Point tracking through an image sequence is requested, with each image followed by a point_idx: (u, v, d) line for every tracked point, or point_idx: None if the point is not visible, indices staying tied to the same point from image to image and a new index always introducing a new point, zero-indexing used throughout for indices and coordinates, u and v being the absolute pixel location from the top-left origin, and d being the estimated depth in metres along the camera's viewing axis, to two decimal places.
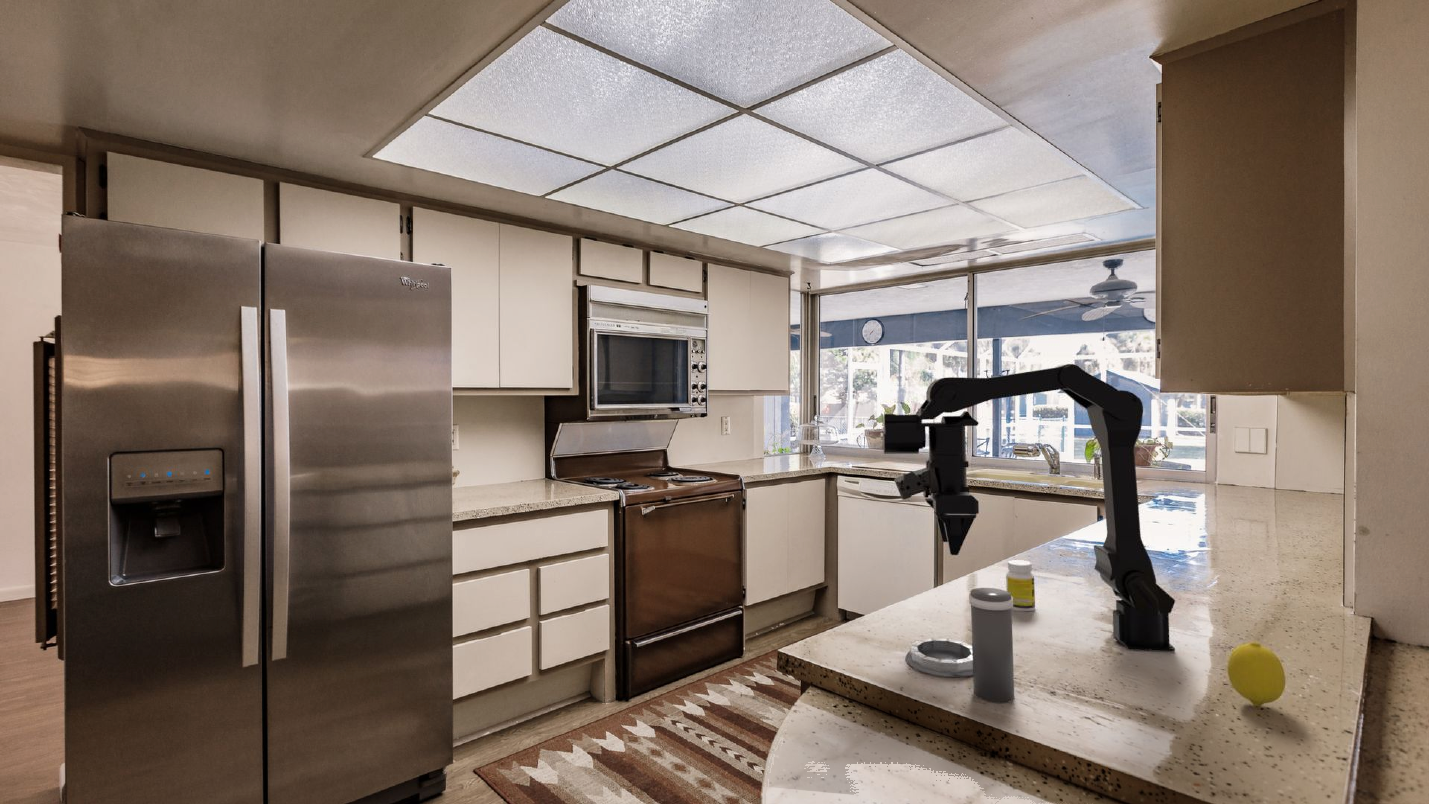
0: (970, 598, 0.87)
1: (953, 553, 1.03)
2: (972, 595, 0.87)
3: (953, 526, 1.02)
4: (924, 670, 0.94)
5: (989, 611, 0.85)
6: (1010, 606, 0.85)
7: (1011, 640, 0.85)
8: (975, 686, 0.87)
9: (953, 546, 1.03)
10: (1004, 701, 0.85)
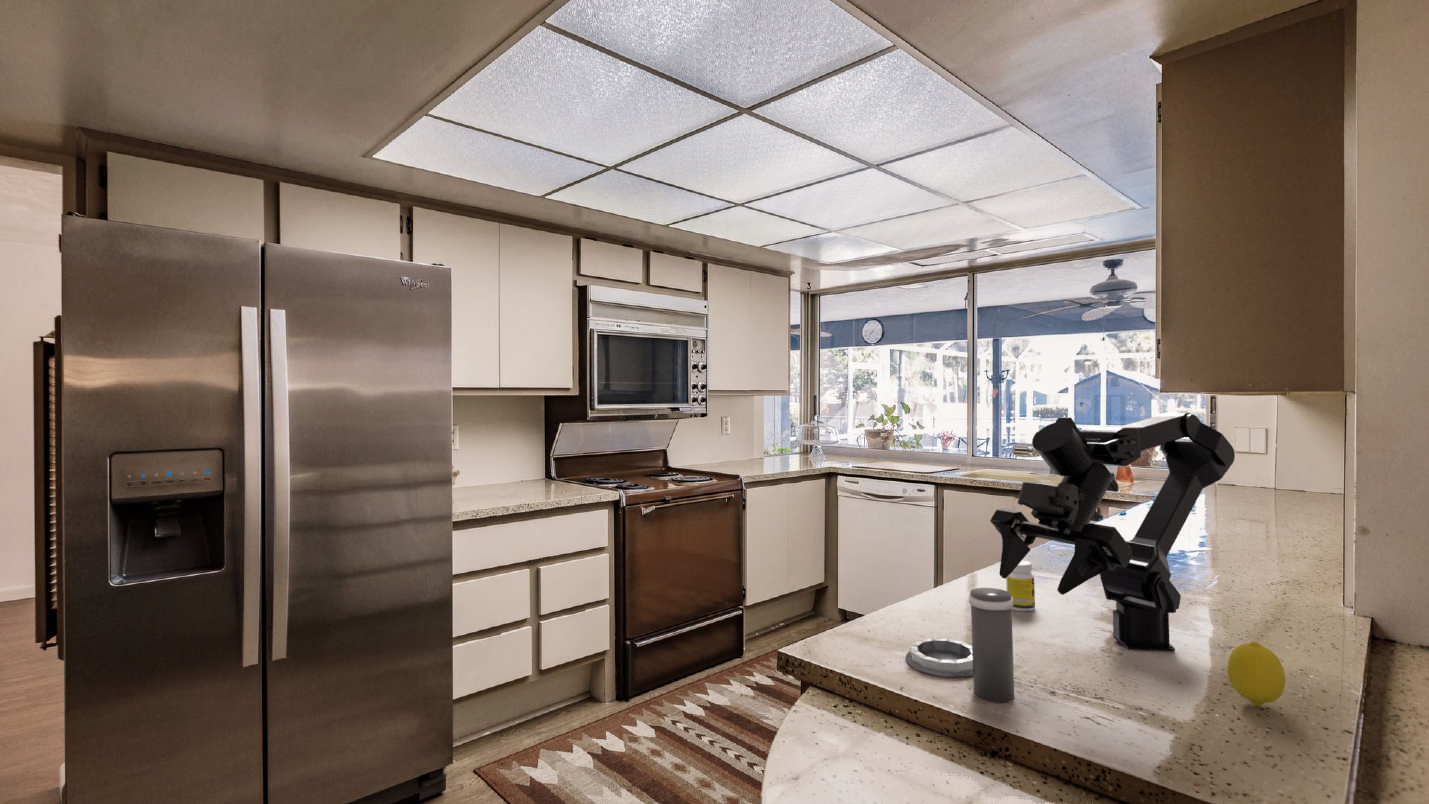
0: (970, 598, 0.87)
1: (1062, 590, 0.87)
2: (972, 595, 0.87)
3: (1082, 565, 0.87)
4: (924, 670, 0.94)
5: (989, 611, 0.85)
6: (1010, 606, 0.85)
7: (1011, 640, 0.85)
8: (975, 686, 0.87)
9: (1068, 583, 0.87)
10: (1004, 701, 0.85)
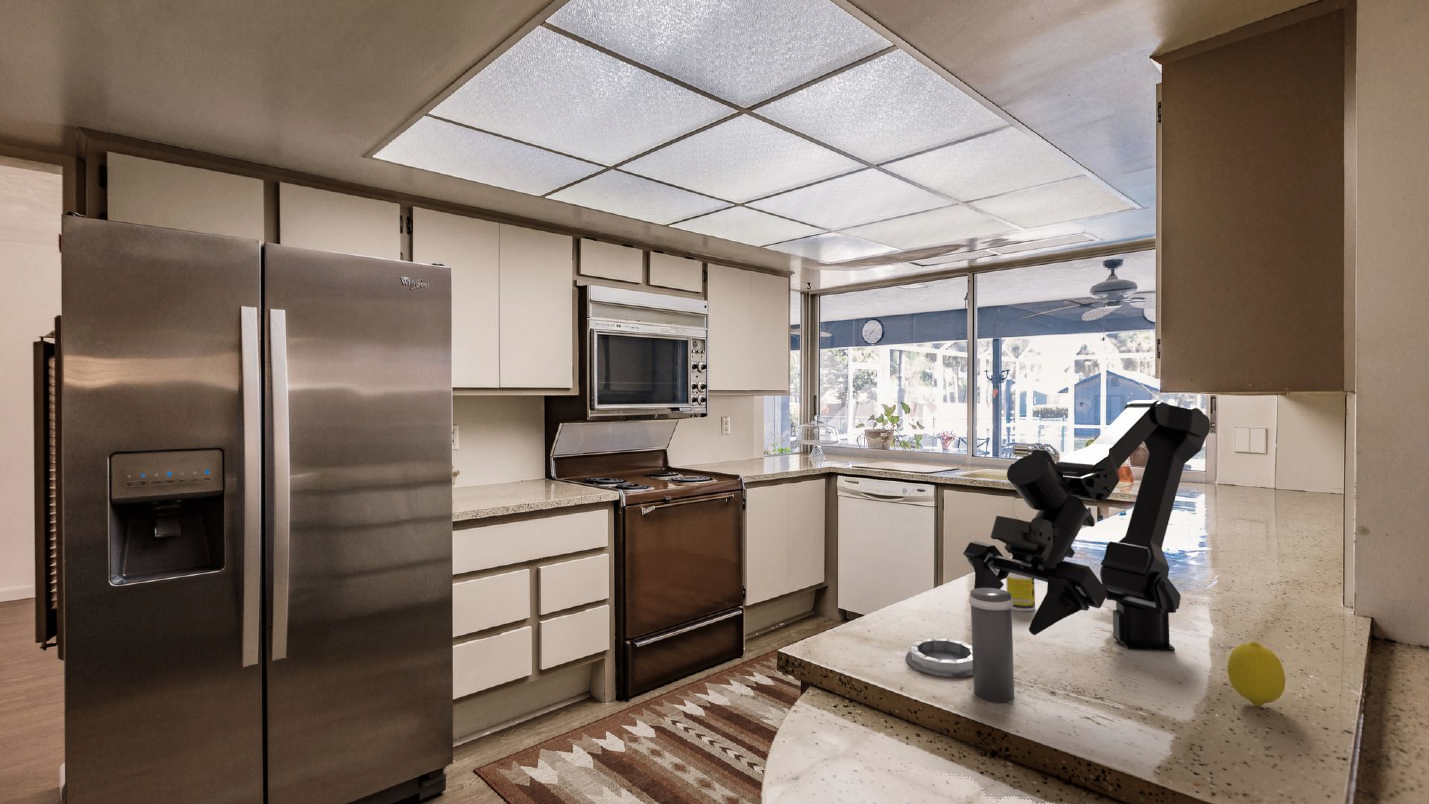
0: (970, 598, 0.87)
1: (1033, 631, 0.84)
2: (972, 595, 0.87)
3: (1055, 604, 0.84)
4: (924, 670, 0.94)
5: (989, 611, 0.85)
6: (1010, 606, 0.85)
7: (1011, 640, 0.85)
8: (975, 686, 0.87)
9: (1040, 623, 0.84)
10: (1004, 701, 0.85)
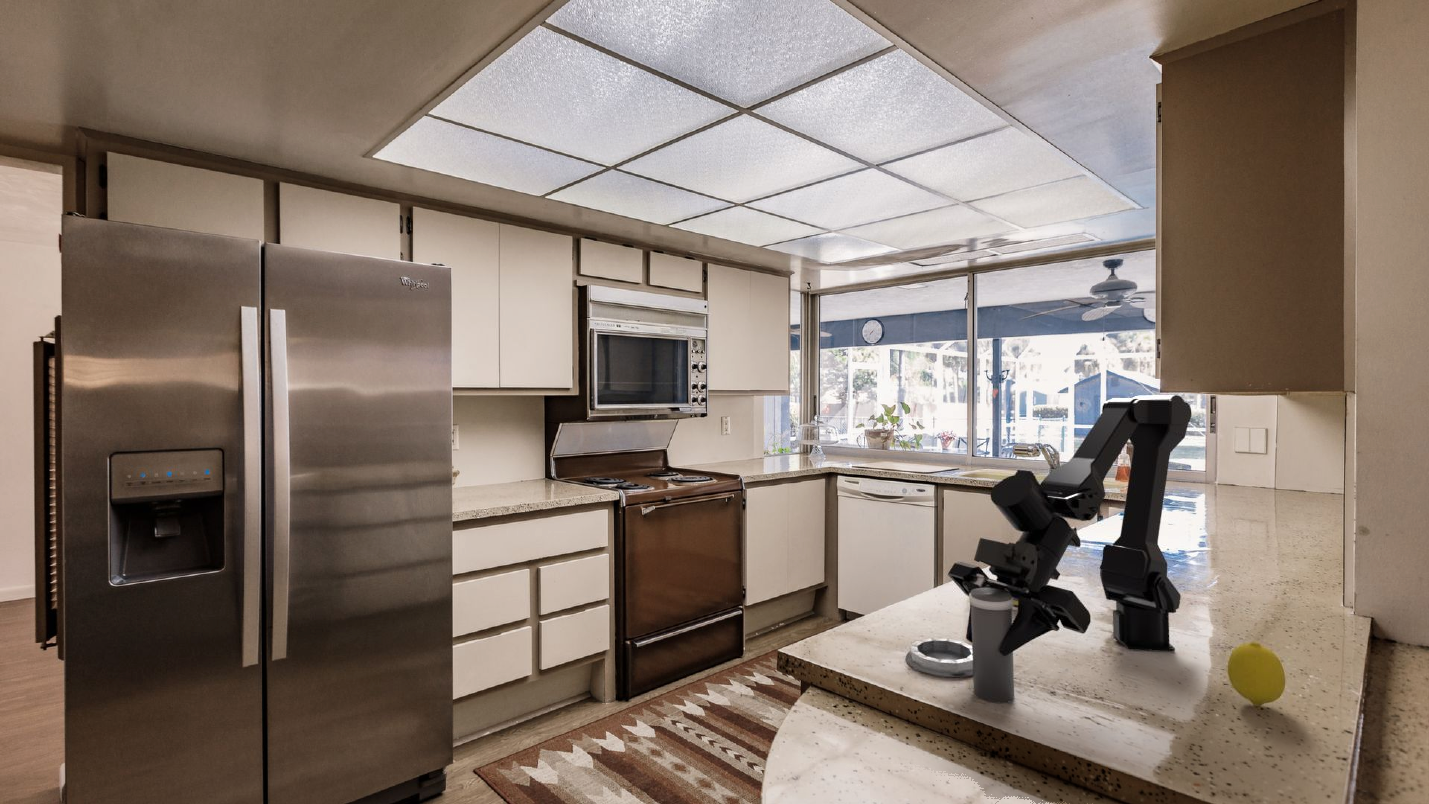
0: (970, 598, 0.87)
1: (1004, 652, 0.84)
2: (972, 595, 0.87)
3: (1025, 625, 0.84)
4: (924, 670, 0.94)
5: (989, 611, 0.85)
6: (1010, 606, 0.85)
7: None
8: (975, 686, 0.87)
9: (1010, 644, 0.84)
10: (1004, 701, 0.85)
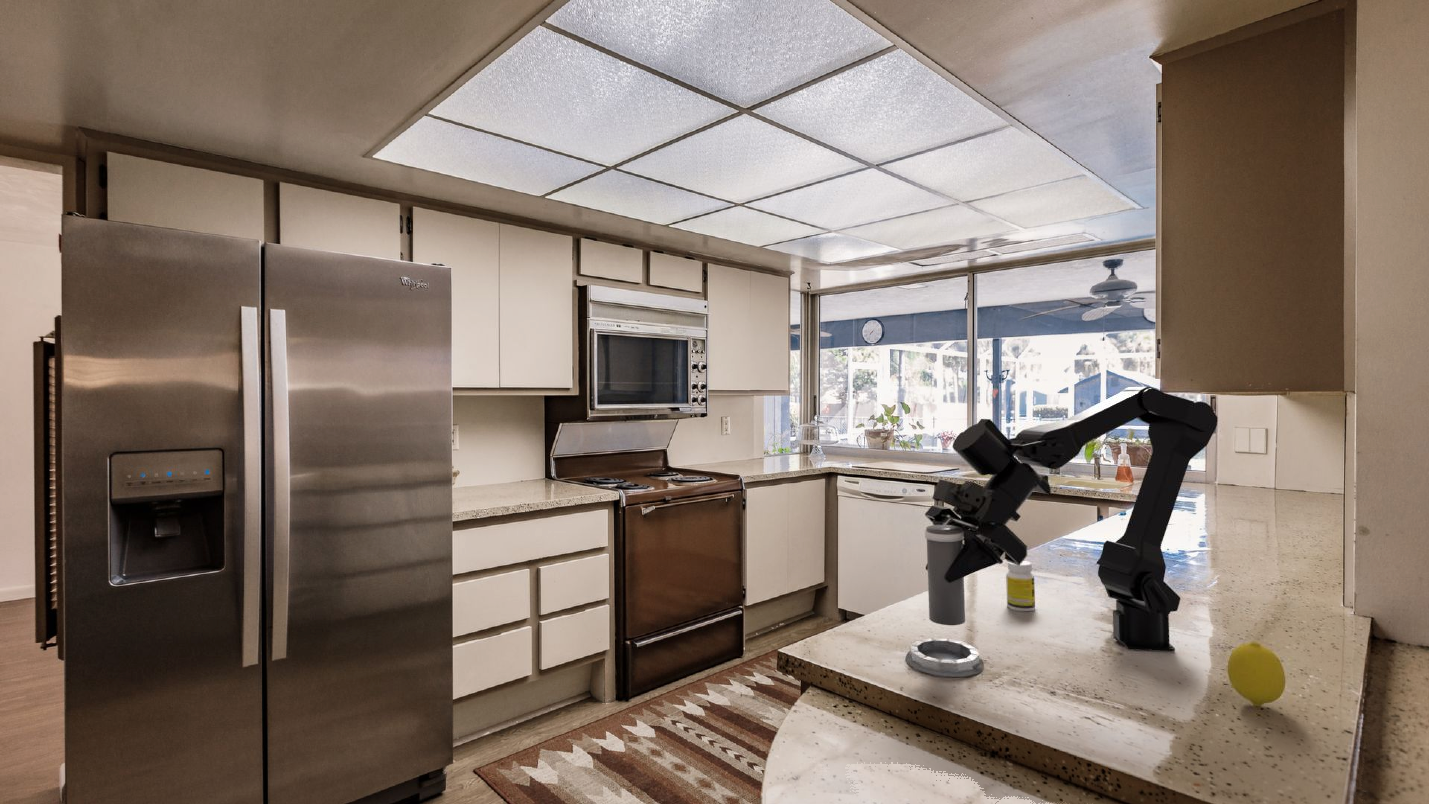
0: (925, 531, 0.97)
1: (948, 579, 0.93)
2: (926, 529, 0.97)
3: (970, 556, 0.93)
4: (924, 670, 0.94)
5: (936, 542, 0.95)
6: (957, 539, 0.94)
7: None
8: (929, 610, 0.97)
9: (954, 573, 0.93)
10: (950, 624, 0.94)
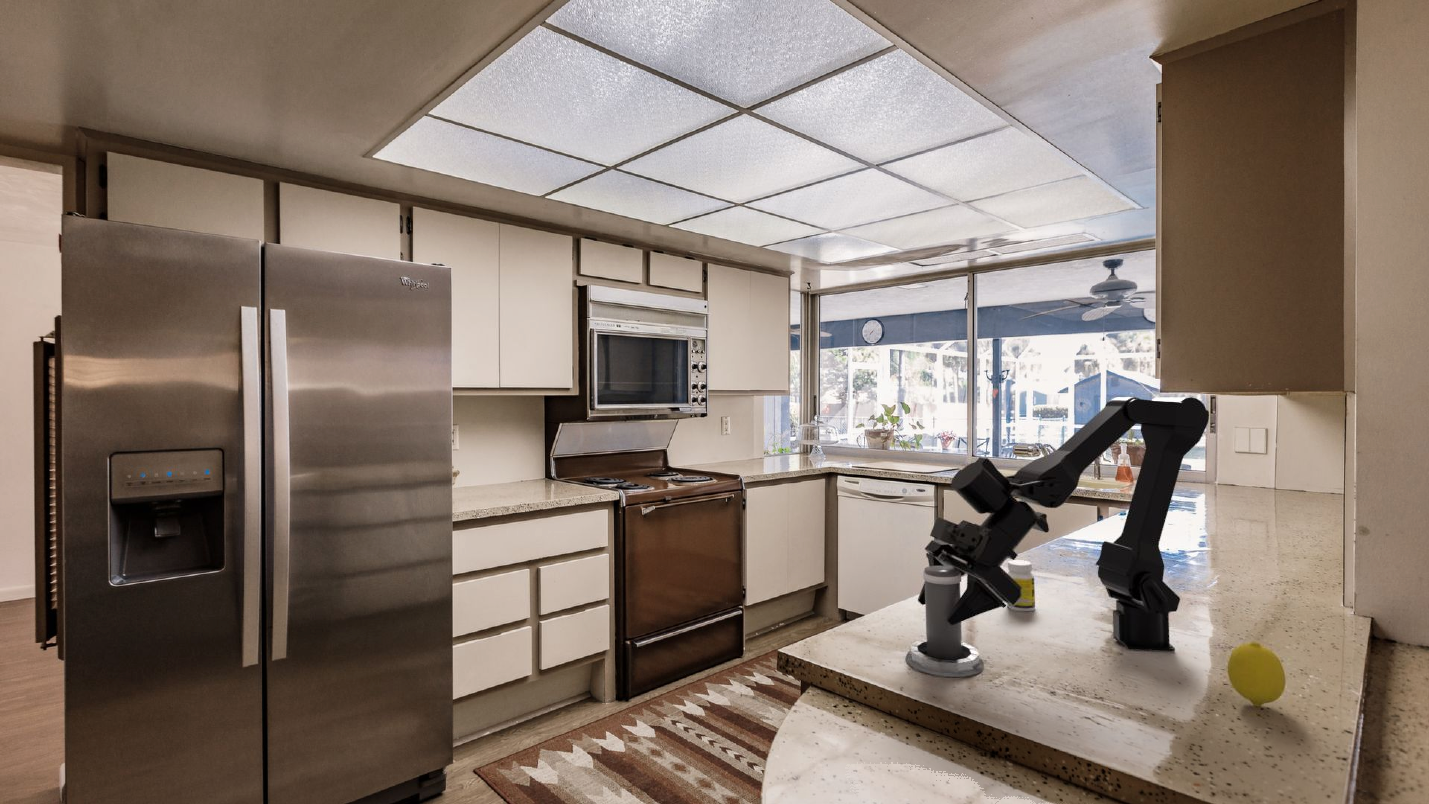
0: (923, 573, 0.99)
1: (950, 621, 0.93)
2: (924, 570, 0.98)
3: (973, 599, 0.92)
4: (924, 670, 0.94)
5: (933, 584, 0.96)
6: (954, 582, 0.95)
7: None
8: None
9: (956, 615, 0.93)
10: None
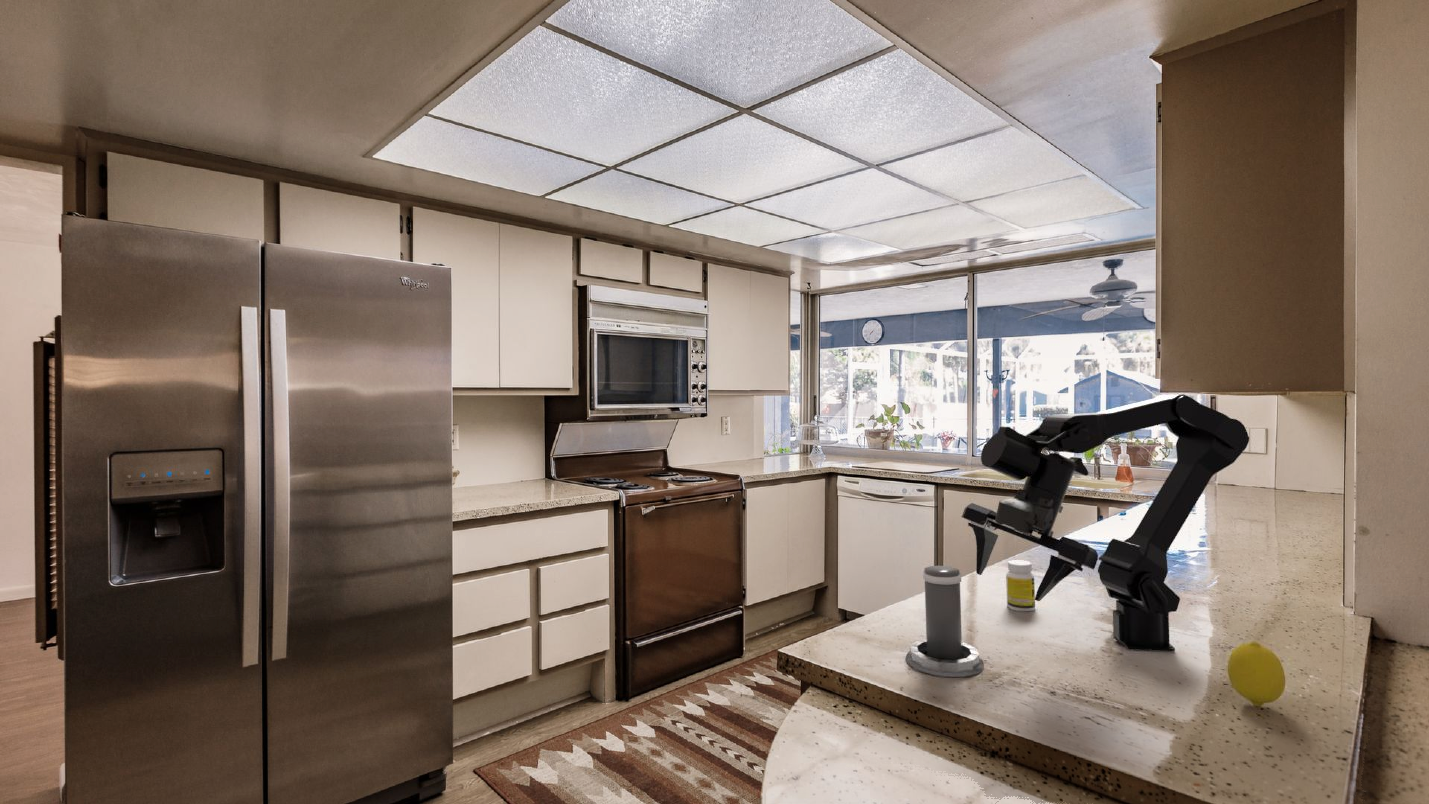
0: (923, 573, 0.99)
1: (1039, 599, 0.96)
2: (924, 570, 0.98)
3: None
4: (924, 670, 0.94)
5: (933, 584, 0.96)
6: (954, 582, 0.95)
7: (956, 613, 0.96)
8: None
9: (1044, 592, 0.95)
10: None
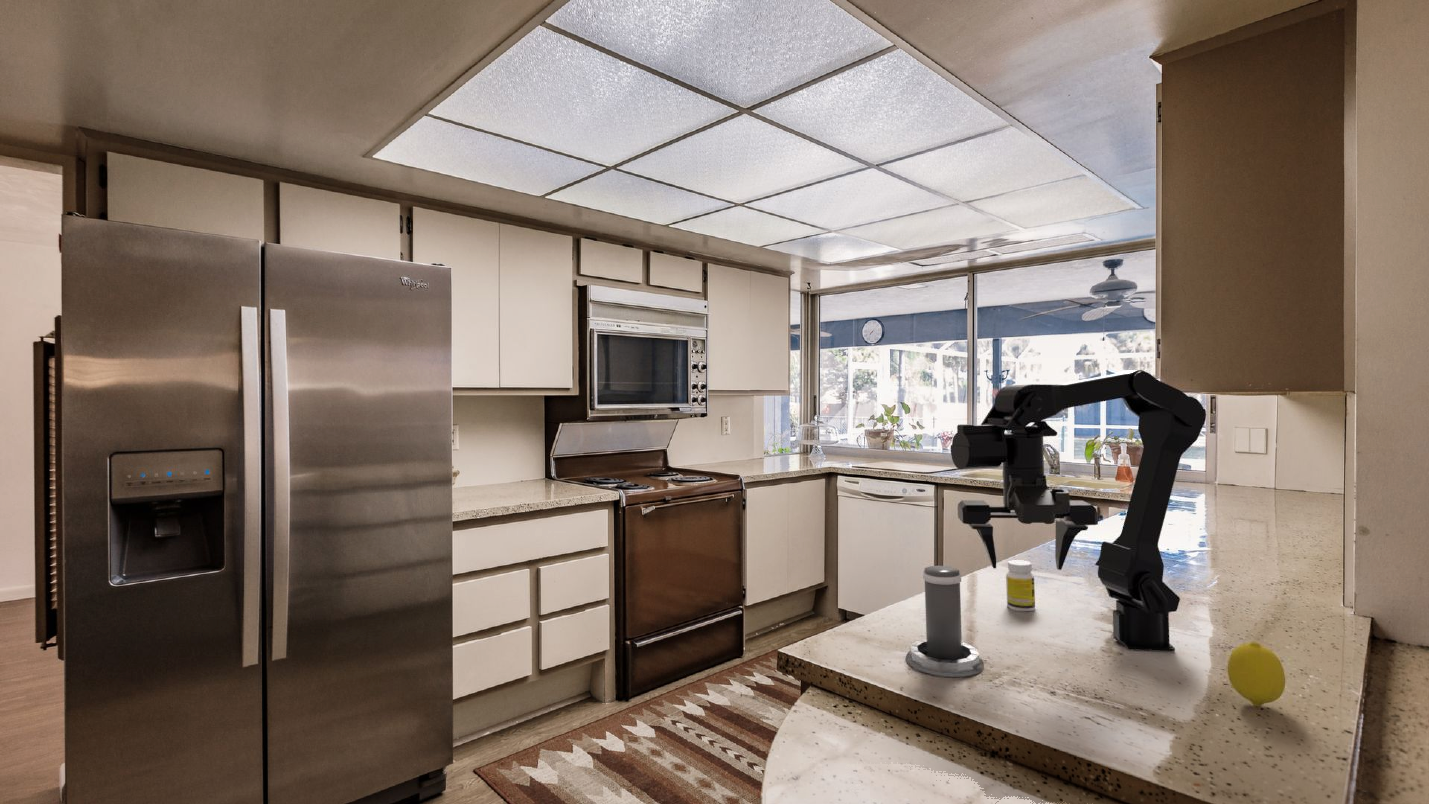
0: (923, 573, 0.99)
1: None
2: (924, 570, 0.98)
3: None
4: (924, 670, 0.94)
5: (933, 584, 0.96)
6: (954, 582, 0.95)
7: (956, 613, 0.96)
8: None
9: None
10: None
